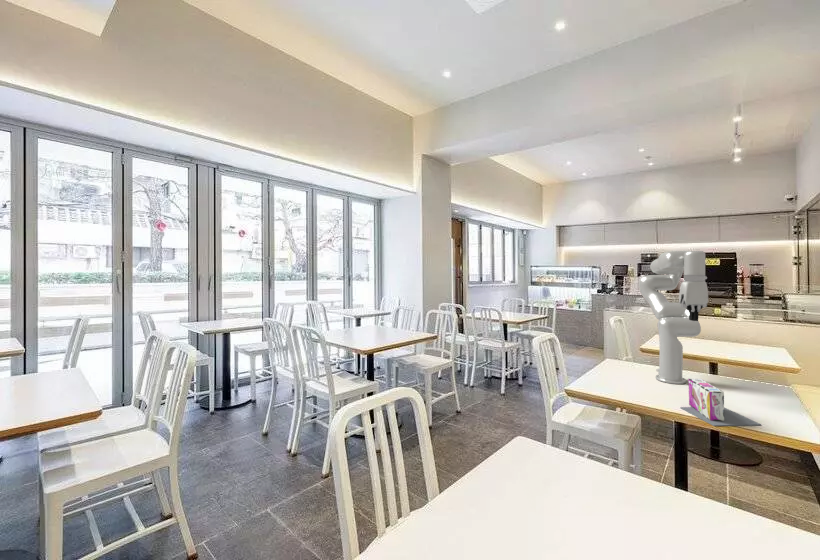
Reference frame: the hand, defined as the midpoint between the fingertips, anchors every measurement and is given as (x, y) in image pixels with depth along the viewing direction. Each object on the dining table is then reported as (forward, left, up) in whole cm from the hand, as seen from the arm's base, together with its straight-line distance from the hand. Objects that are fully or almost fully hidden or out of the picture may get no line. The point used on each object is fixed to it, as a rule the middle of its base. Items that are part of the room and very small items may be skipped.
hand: (693, 320), depth 167 cm
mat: (+24, -8, -33) cm, 42 cm away
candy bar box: (+13, -9, -27) cm, 32 cm away
